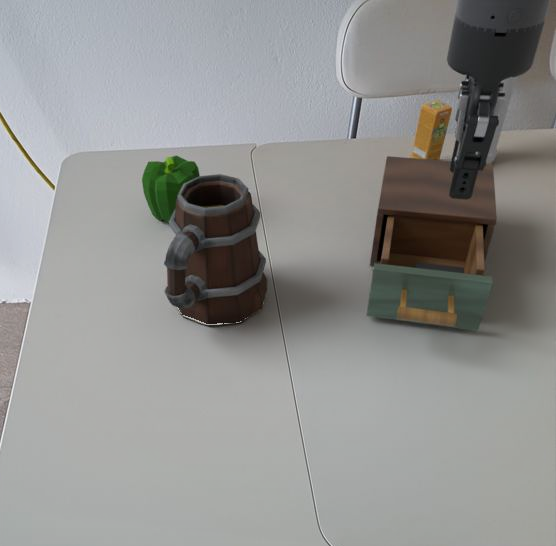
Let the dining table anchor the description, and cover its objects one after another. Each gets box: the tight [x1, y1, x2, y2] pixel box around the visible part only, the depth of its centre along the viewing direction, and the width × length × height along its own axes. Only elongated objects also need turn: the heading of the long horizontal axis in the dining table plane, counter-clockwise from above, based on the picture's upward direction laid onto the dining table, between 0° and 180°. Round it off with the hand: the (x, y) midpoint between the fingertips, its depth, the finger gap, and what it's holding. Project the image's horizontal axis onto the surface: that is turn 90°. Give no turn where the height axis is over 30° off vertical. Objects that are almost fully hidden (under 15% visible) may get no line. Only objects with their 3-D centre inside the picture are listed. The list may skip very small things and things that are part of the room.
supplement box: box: [410, 99, 453, 160], centre depth 99 cm, size 3×3×10 cm
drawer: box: [366, 215, 494, 331], centre depth 75 cm, size 17×12×7 cm
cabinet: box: [369, 155, 498, 267], centre depth 85 cm, size 14×14×9 cm
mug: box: [163, 173, 268, 324], centre depth 75 cm, size 16×12×15 cm
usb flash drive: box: [414, 262, 464, 273], centre depth 77 cm, size 8×3×2 cm, turn 74°
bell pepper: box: [141, 155, 201, 224], centre depth 93 cm, size 8×8×10 cm
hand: (459, 183), depth 69 cm, fingers open, 4 cm apart
